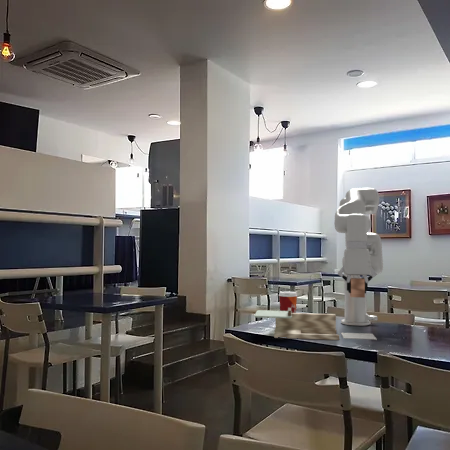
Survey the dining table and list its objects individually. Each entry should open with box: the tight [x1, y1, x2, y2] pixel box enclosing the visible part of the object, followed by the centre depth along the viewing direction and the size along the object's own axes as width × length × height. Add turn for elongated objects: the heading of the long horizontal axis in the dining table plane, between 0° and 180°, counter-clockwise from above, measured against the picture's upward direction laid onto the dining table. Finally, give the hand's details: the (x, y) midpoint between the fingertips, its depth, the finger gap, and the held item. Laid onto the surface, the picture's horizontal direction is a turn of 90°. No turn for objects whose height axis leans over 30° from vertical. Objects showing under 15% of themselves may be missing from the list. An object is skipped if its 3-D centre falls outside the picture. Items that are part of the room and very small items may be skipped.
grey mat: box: [340, 332, 378, 341], centre depth 181 cm, size 12×10×1 cm
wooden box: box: [273, 312, 340, 341], centre depth 184 cm, size 24×16×8 cm, turn 82°
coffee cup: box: [278, 291, 299, 313], centre depth 202 cm, size 8×8×15 cm
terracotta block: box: [350, 277, 365, 298], centre depth 182 cm, size 5×5×7 cm
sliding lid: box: [254, 308, 291, 319], centre depth 185 cm, size 14×15×3 cm
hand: (357, 292), depth 182 cm, fingers closed on terracotta block, 5 cm apart
